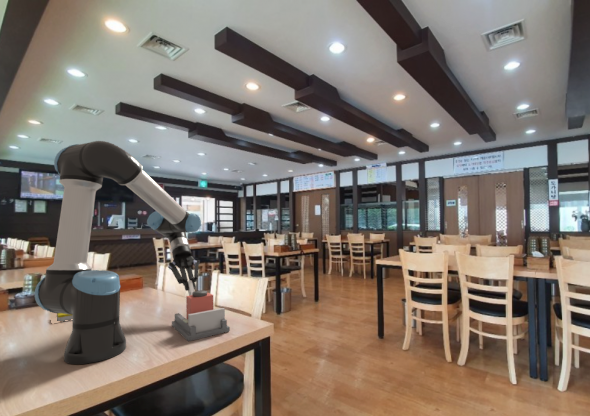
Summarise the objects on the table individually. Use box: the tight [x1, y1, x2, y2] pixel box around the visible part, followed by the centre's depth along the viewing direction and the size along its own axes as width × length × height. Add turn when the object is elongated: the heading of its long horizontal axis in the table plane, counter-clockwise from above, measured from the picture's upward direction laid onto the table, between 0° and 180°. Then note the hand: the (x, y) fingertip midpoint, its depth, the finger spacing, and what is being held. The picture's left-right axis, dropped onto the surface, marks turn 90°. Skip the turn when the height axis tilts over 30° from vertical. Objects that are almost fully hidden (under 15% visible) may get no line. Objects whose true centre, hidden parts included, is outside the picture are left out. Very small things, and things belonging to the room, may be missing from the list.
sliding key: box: [185, 290, 214, 319], centre depth 110 cm, size 8×5×11 cm, turn 126°
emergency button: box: [56, 313, 73, 321], centre depth 127 cm, size 9×4×15 cm
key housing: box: [171, 307, 231, 342], centre depth 110 cm, size 14×20×8 cm
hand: (192, 296), depth 120 cm, fingers closed
